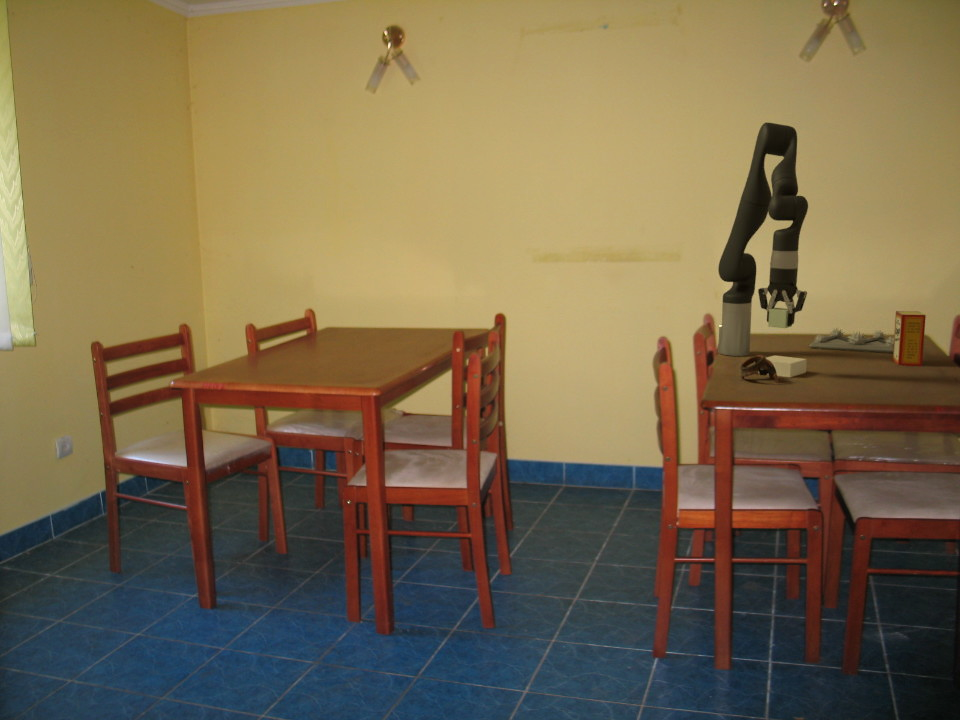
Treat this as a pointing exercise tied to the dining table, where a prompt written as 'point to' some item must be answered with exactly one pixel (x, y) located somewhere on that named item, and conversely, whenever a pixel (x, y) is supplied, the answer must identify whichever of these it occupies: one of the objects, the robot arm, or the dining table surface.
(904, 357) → the baking soda box
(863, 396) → the dining table surface
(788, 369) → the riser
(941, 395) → the dining table surface
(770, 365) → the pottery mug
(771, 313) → the cube
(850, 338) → the decorative plate
